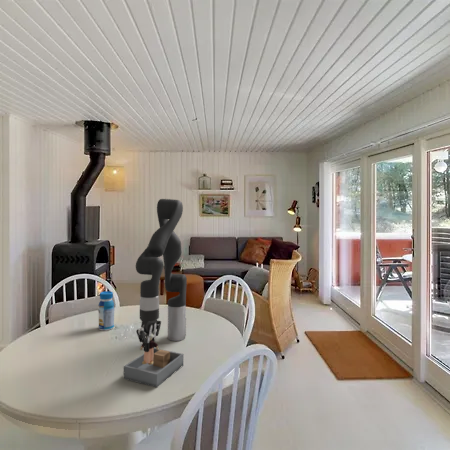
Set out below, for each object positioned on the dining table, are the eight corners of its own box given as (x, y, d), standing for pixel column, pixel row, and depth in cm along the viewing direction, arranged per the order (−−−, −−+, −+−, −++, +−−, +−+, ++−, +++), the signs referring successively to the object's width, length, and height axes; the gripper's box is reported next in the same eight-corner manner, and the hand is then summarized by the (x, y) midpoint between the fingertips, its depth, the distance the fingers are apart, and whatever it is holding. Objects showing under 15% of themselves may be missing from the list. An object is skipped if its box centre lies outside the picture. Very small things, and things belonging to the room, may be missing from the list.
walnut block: (160, 360, 146) (160, 349, 146) (169, 363, 144) (170, 351, 144) (153, 365, 142) (153, 353, 141) (163, 368, 140) (163, 356, 139)
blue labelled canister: (111, 331, 182) (111, 294, 181) (95, 330, 183) (95, 294, 182) (116, 325, 191) (116, 290, 190) (101, 325, 191) (101, 290, 190)
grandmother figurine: (138, 365, 132) (138, 333, 131) (140, 361, 136) (140, 330, 135) (158, 365, 133) (158, 333, 132) (159, 360, 137) (159, 329, 136)
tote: (153, 358, 150) (153, 347, 150) (183, 365, 144) (183, 354, 144) (123, 378, 132) (123, 366, 132) (156, 387, 126) (156, 374, 126)
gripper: (146, 313, 126) (146, 358, 126) (167, 303, 138) (166, 345, 139) (130, 310, 128) (130, 355, 129) (152, 301, 141) (151, 341, 142)
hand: (149, 349), depth 134 cm, fingers closed on grandmother figurine, 3 cm apart
